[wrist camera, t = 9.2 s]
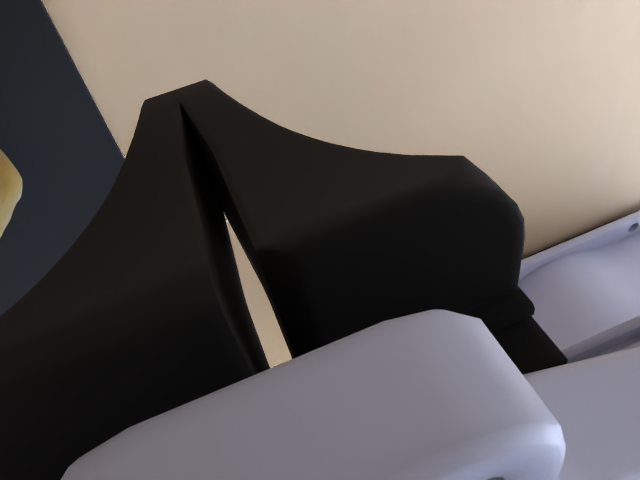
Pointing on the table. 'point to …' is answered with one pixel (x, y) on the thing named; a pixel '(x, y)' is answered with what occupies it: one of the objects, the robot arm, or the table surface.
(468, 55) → the table surface
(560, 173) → the table surface
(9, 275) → the placemat
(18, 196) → the pastry
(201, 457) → the robot arm
